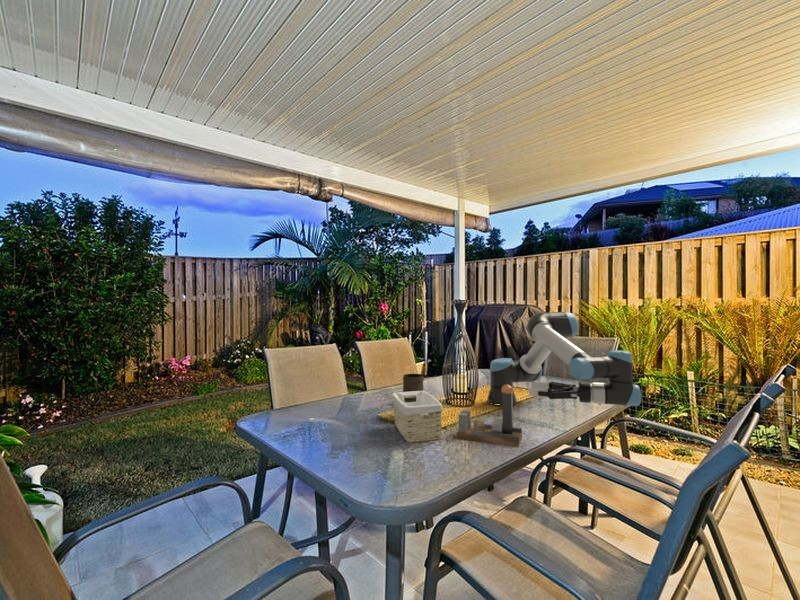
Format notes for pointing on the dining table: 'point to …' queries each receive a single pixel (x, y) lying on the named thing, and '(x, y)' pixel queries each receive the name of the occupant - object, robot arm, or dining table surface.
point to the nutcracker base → (485, 432)
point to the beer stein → (412, 384)
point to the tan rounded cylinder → (479, 425)
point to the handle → (505, 413)
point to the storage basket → (417, 416)
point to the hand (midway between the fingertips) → (530, 388)
